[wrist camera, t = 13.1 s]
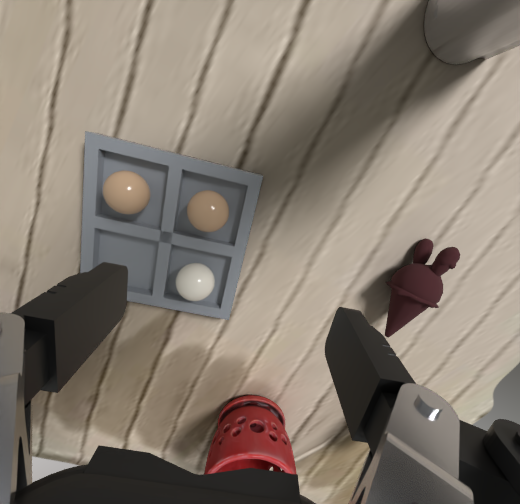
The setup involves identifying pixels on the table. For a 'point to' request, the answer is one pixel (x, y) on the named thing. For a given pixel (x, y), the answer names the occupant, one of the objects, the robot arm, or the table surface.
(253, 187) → the egg tray
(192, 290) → the pale egg
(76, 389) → the table surface
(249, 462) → the plant pot
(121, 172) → the brown egg
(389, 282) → the icecream
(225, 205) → the brown egg
